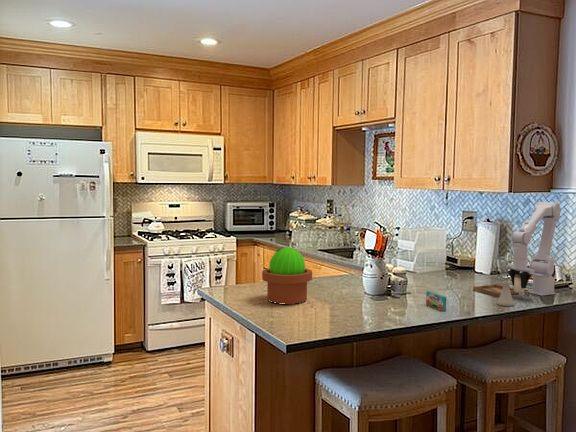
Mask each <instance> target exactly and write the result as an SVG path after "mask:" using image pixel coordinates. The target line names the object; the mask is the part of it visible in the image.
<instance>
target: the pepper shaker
mask: <svg viewBox="0 0 576 432" xmlns="http://www.w3.org/2000/svg"><path fill="white" fill-rule="evenodd" d="M513 289H514V292H516V293H519V294H524V293H525V289H526V288H521V278H520V274H515V277H514V286H513Z"/></svg>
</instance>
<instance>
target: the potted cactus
mask: <svg viewBox="0 0 576 432" xmlns="http://www.w3.org/2000/svg"><path fill="white" fill-rule="evenodd" d="M305 262H306V261H305V258H304V257H303V254H302V253H300V251H298V249H295V248H294V247H290V246H288V247H287V246H286V247H285V246H283V247H279V248H278V249H277V250H275V251H274V253H272V256H271V259H270V260H269V266H268V267H269V268H264V270H262V271H261V278H262V281H264V282H267V284H266V285H267V286H266V287H267V289H266V290H267V292H266V293H267V301H268V300H270V301H272V302H276V303H285V304H295V303H300V304H302V303H301V302H303V303H305V302H306V301H308V300H307V299H308V282H311V281H313V270H311V269H309V268H306V263H305ZM304 301H305V302H304ZM295 305H296V304H295Z"/></svg>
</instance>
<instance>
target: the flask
mask: <svg viewBox="0 0 576 432" xmlns="http://www.w3.org/2000/svg"><path fill="white" fill-rule="evenodd" d="M510 284H511V282H510V281H502V286H503V289H502V292H501V295H500V297H498V300H497V302H496V304H497V305H498V306H504V307H514V306H515V302H514V299H513V295H511V293H510V288H511V287H510Z"/></svg>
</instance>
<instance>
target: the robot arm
mask: <svg viewBox="0 0 576 432" xmlns="http://www.w3.org/2000/svg"><path fill="white" fill-rule="evenodd" d="M561 212H562V208H561V205H560V203H559V202H557V201H556V202H552V201H551V202H550V201H549V202H548V201H537V202H536V203H535V205H534V212H533V213H532V215H531V217H530V218H529V220H525V221H524V222H523V224H522V225H521V226H520V228H519V229H518V230H517V231H516V230H515V231H514V232H513V233H512V235H511V237H510V240H511V243H512V247H513V259H512V260H513V264H506V265H505V269H506V270H507V273H508V275H509V276H510V279H511V283H512V286H513V287H514V277H515V274H520V278H521V288H525V289H527V286H528V283H529V280H530V278H531V277H532V286H531V287H532V289H531V290H528V291H527V292H528V293H530V294H534V295H537V296H549V295H556V294H557V293H556V292H555V278H554V277H553V274H554V271H555V260H554V258H552V257H551V256H550V255H551V251H552V246H553V240H554V236H555V230H556V225H557V222H559V220H560V217H561ZM540 221H543V226H542V232H541V235H540V236H541V237H540V241H539V245H538V252H537V254H535V255H533V256H532V257H531V260H530V262H529V264H528V249H529V248H528V247H529V246H528V245H530V243H531V240H532V238H533V237H532V235H533V234H534V232H535V231H536V230H537V228H538V227H537V225H538V224H539V222H540Z"/></svg>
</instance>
